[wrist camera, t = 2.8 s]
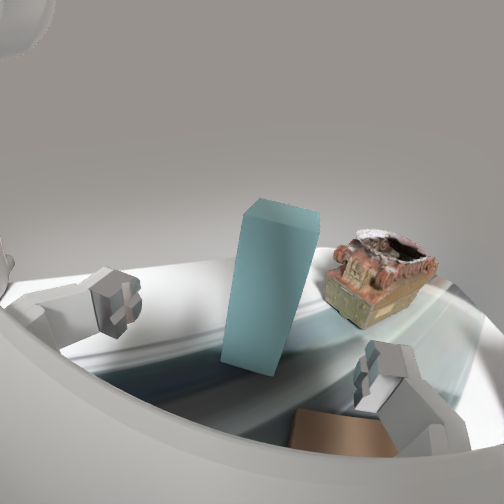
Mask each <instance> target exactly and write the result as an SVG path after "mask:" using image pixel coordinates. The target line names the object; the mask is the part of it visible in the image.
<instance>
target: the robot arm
mask: <svg viewBox="0 0 504 504" xmlns="http://www.w3.org/2000/svg"><path fill="white" fill-rule="evenodd" d="M54 10H55V0H0V61H3V60H7V59H10V58H13V57H16V56H19V55H22V54H26V53H27V52H29V51H30V50H31V49H32V48H33V47H34V46H35V45H36V44H37V43H38V42H39V41H40V39H41V38H42V37H43V35H44V34H45V32H46V31H47V29H48V27H49V25H50V23H51V20H52V18H53V14H54ZM14 264H15V262H14V259H13V257H12V256H9V255H6V254H5V253H4V249H3V245H2V241H1V238H0V298H1V296H2V295H3V293H4V291H5V290H6V287H7V284H8V277H9V273H10V271H11V270H12V268H13V267H14ZM140 289H141V286H140V280H139V279H138V278H136V277H134V276H131V275H128V274H126V273H123V272H121V271H118V270H115V269H112V268H110V267H103V268H101V269H100V270H98V271H97V272H95V273H94V274H92V275H91V276H89V277H88V278H87V279H85V280H84V281H82V282H81V283H80V284H78V285H77V284H70V285H66V286H61V287H56V288H52V289H47V290H42V291H37V292H33V293H28V294H24V295H23V296H21V297H20V298H19V299H17V300H16V301H14V302H13V303H12V304H10V305H9V306H8V307H6V308H5V309H3V308H2V307H1V306H0V504H504V444H500V445H496V446H492V447H488V448H483V449H478V450H472V451H471V446H470V441H469V437H468V433H467V429H466V425H465V422H464V421H463V420H462V419H461V417H460V416H459V415H458V414H457V413H456V412H455V411H454V410H453V409H452V408H451V407H450V406H449V405H448V404H447V402H446V401H445V400H444V399H443V398H442V397H441V396H440V395H439V394H438V393H437V392H436V391H435V390H434V389H433V388H432V387H431V386H430V385H429V384H428V383H427V382H426V381H425V380H421V376H420V372H419V369H418V365H417V362H416V359H415V355H414V352H413V349H412V347H411V346H408V345H400V344H391V343H385V342H379V341H374V340H371V341H370V342H369V343H368V344H367V346H366V348H365V352H366V355H365V356H363V357H361V358H360V359H359V361H358V363H357V365H356V368H355V372H354V378H353V380H354V385H355V387H356V388H357V390H356V392H355V393H354V410H361V411H368V412H376V413H377V415H378V417H379V419H380V420H381V422H382V424H383V426H384V427H385V429H386V431H387V432H388V434H389V436H390V437H391V439H392V441H393V443H394V444H395V446H396V448H397V449H398V451H399V453H398V454H397V455H396V456H394V457H393V458H381V457H357V456H344V455H333V454H325V453H317V452H310V451H303V450H297V449H292V448H286V447H281V446H276V445H272V444H267V443H263V442H259V441H255V440H251V439H247V438H243V437H239V436H236V435H232V434H229V433H225V432H222V431H219V430H216V429H213V428H210V427H207V426H204V425H201V424H198V423H195V422H193V421H190V420H187V419H185V418H182V417H179V416H177V415H174V414H172V413H169V412H167V411H165V410H162V409H160V408H158V407H155V406H153V405H151V404H149V403H146V402H144V401H142V400H140V399H138V398H136V397H134V396H132V395H130V394H128V393H126V392H124V391H122V390H120V389H118V388H116V387H114V386H112V385H111V384H109V383H107V382H105V381H103V380H102V379H100V378H98V377H96V376H95V375H93V374H91V373H90V372H88V371H86V370H85V369H83V368H81V367H80V366H78V365H77V364H75V363H73V362H72V361H70V360H69V359H67V358H66V357H64V356H63V355H61V353H60V350H59V349H61V348H63V347H66V346H68V345H71V344H73V343H75V342H78V341H80V340H83V339H85V338H87V337H90V336H92V335H95V334H97V333H99V331H100V332H102V333H104V334H106V335H108V336H110V337H113V338H115V339H118V338H119V337H120V336H121V335H122V334H123V333H124V332H125V331H126V330H127V324H129V323H132V322H134V321H135V320H136V319H137V318H138V316H139V314H140V312H141V308H142V299H141V297H140V295H139V294H138V291H139V290H140Z"/></svg>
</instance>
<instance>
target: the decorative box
mask: <svg viewBox="0 0 504 504" xmlns="http://www.w3.org/2000/svg"><path fill="white" fill-rule="evenodd" d="M356 234H357V237H356V239H353V240H352V241H351V242H350V243H349V245H340V246H339V247H337V250H335V251H334V254H333V258H334V260H335V261H337V262H339V263H341V264H344V265H342V266H340V267H338V269H337V270H336V269H334V270H330V271H328V272H326V278H325V300H326V301H327V302H328V303H329V304H331V305H332V306H333V307H334V308H336V309H337V310H338V311H339V312H340V314H341V316H342V317H343V318H345V319H350V320H351V321H352V322H353V323H355V324H356V325H357V326H359V327H360V328H361V329H363V330H365V329H366V328H368V327H370V326H372V325H374V324H376V323H378V322H380V321H382V320H384V319H385V318H387V317H389V316H391V315H393V314H395V313H397V312H399V311H401V310H403V309H405V308H407V307H408V306H409V305H410V303H411V302H412V301H413V300H414V298H415V297H416V294H417V293H418V291H419V289H420V288H421V287H422V286H423V285H424V284H425V283H426V282H428V281H429V280H430V279H431V278H432V277H433V276H434V275H435V273H436V270H437V267H438V263H437V262H436V261H435V257H431V256H428V254H427V253H426V252H425V250H423V249H422V248H421V247H420V246H418V245H416V243H413V242H412V241H411V240H409V239H407V238H403V237H402V236H400V235H398V234H395V233H393V232H390V231H385V230H381V229H362V230H359V231H357V233H356ZM334 256H335V257H334Z"/></svg>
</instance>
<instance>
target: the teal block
mask: <svg viewBox="0 0 504 504" xmlns="http://www.w3.org/2000/svg"><path fill="white" fill-rule="evenodd" d="M319 234H320V213H318V212H315V211H311V210H307V209H303V208H299V207H295V206H291V205H287V204H283V203H279V202H275V201H270V200H266V199H262V198H259V199H258V200H257V201H256V202H255V203H254V204H253V205H252V206H251V207H250V208H249V209H248V210H247V211H246V212H245V213H244V214H243V220H242V226H241V232H240V238H239V245H238V251H237V257H236V263H235V269H234V275H233V282H232V288H231V294H230V301H229V307H228V314H227V320H226V327H225V334H224V340H223V347H222V354H221V362H224V363H227V364H230V365H233V366H237V367H240V368H243V369H246V370H250V371H253V372H257V373H260V374H264V375H268V376H272V377H273V376H274V373H275V370H276V368H277V365H278V362H279V360H280V357H281V354H282V351H283V348H284V345H285V343H286V340H287V337H288V334H289V331H290V328H291V325H292V322H293V319H294V316H295V313H296V310H297V307H298V304H299V301H300V298H301V295H302V291H303V288H304V285H305V282H306V278H307V275H308V272H309V269H310V265H311V262H312V258H313V255H314V252H315V248H316V245H317V241H318V237H319Z"/></svg>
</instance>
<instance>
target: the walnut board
mask: <svg viewBox="0 0 504 504" xmlns="http://www.w3.org/2000/svg"><path fill="white" fill-rule="evenodd" d="M288 448H292V449H297V450H303V451H310V452H317V453H325V454H333V455H344V456H357V457H381V458H393V457H394V456H396V455H397V454H398V453H399V451H398V449H397V448H396V446H395V444H394V443H393V441H392V439H391V437H390V436H389V434H388V432H387V431H386V429H385V427H384V426H383V424H382V422H381V420H373V419H364V418H356V417H348V416H341V415H335V414H329V413H323V412H318V411H313V410H308V409H303V408H297V410H296V412H295V413H294V418H293V424H292V429H291V434H290V439H289V444H288Z"/></svg>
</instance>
